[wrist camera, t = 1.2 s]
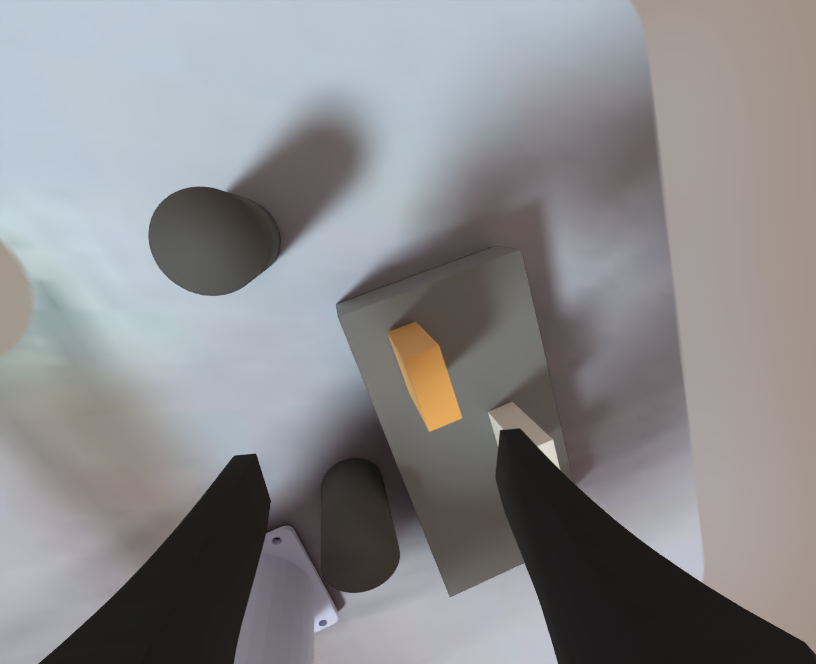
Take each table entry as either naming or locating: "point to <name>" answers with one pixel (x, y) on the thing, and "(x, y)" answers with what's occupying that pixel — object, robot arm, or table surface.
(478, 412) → the block
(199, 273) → the dark grey cylinder
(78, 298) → the table surface
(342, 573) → the grey short cylinder
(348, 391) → the table surface
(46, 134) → the table surface
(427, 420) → the block
